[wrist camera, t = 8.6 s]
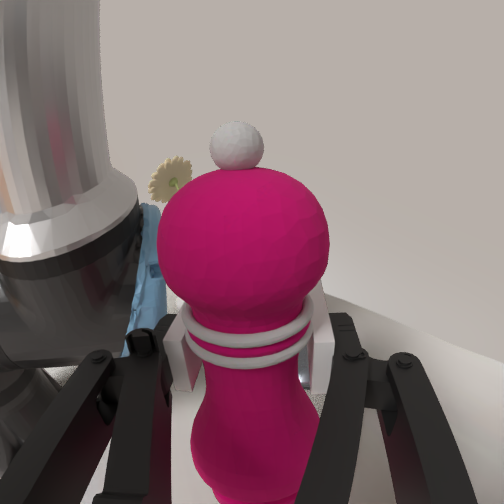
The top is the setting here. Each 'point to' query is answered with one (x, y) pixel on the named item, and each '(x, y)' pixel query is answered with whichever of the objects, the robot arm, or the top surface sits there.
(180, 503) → the top surface
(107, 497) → the robot arm
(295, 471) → the pepper mill
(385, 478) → the top surface
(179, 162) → the flower in vase
